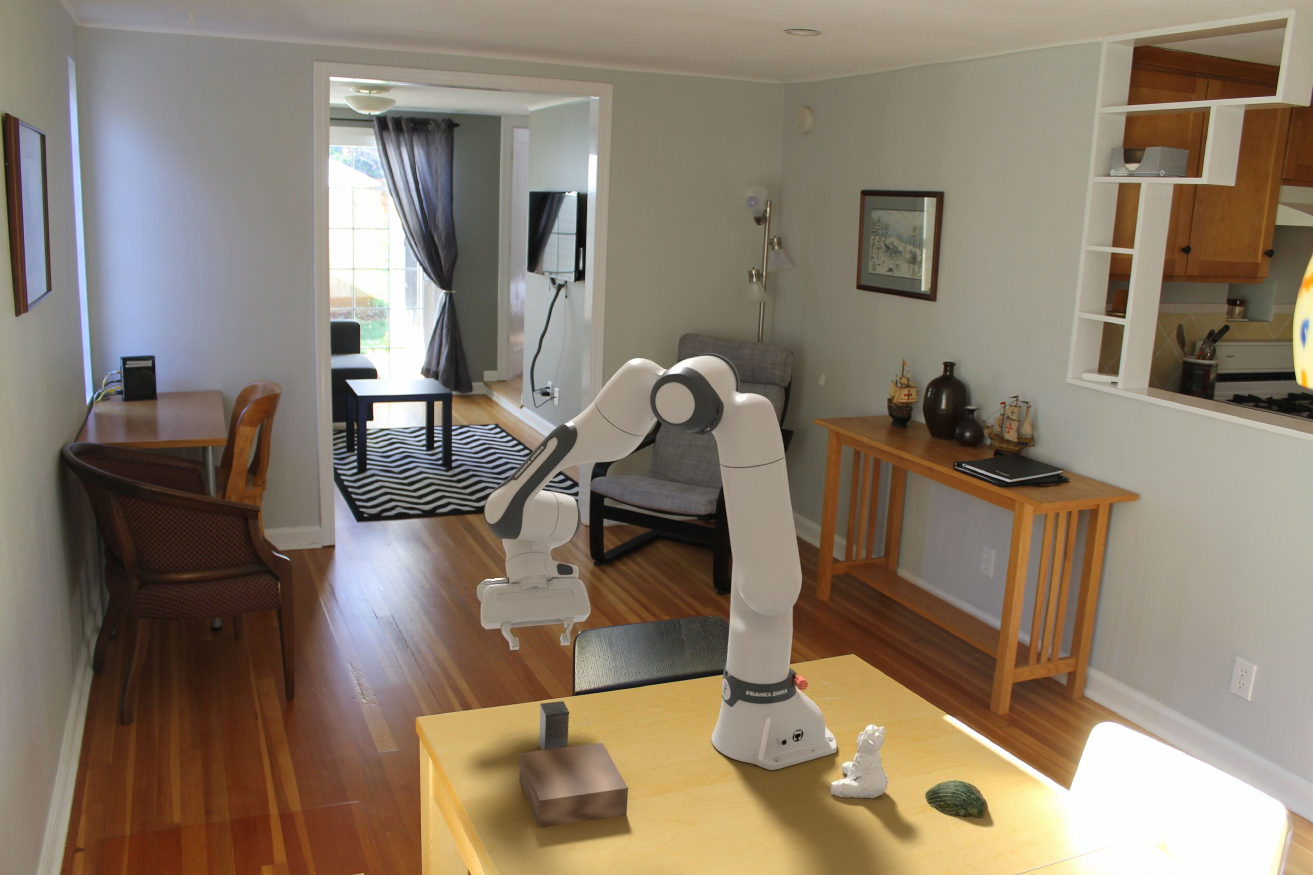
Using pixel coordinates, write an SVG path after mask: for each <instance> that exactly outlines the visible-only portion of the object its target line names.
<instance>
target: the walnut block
mask: <svg viewBox="0 0 1313 875" xmlns="http://www.w3.org/2000/svg"><path fill="white" fill-rule="evenodd" d="M518 779H519V781H520V783H521V787H522V789H523V791H524V794H525V797H526V799H527V801H528V804H529V806H530V809H531V811H532V814H533V816H534V820H535V821H536V824H537V827H538V828H539V829H541V828H542V829H543V828H547V827H554V826H562V825H567V824H574V823H579V822H580V823H582V822H586V821H592V820H599V819H600V820H601V819H606V818H607V819H608V818H613V817H618V816H626V815H627V812H628V796H629V787H628V786H627V784H626V782H625V780H624V778H623V776H622V774H621V773H620V771H619V769H618V768H617V766H616V764H615V762H614V761H613V758H612V757H611V756H610V754H609V752H608V750H607V748H606V747H605V745H604V743H603V742H599V743H590V744H582V745H581V744H580V745H573V746H567V747H565V748H557V749H549V750H541V749H540V750H534V751H528V752H520V753H519V778H518Z"/></svg>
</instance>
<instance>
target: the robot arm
mask: <svg viewBox="0 0 1313 875" xmlns="http://www.w3.org/2000/svg"><path fill="white" fill-rule="evenodd" d="M740 381H741V380H740V374H739V370H738V369H737V367H736V366H735V364H734V363H733V362H732V361H731V360H730V359H729V358H727V357H726V356H723V355H722V354H718V353H711V352H710V353H709V352H708V353H701V354H697V355H695V356H692V357H690V358H686V359H684V360H681V361H680V362H677V363H676V364H674V365H673V366H672V367H670V368H667V369H666V368H664V367H662V366H661V365H659V363H658V364H657V363H656V362H654V361H653V360H651V359H646V358H643V357H641V358H640V357H638V358H633V359H632V358H631V359H629V360H628V361H627V362H626V363H624V364H623V365H622V366H621V367H620V368H619V369H618V370H617V371H616V372H615V373H614V374H613V375H612V377H610V379H609V380H608V381H606V383H605V384H604V385H603V387H602V388H601V389H600V391H599V393H598V394H597V395H596V397H595V398H594V399H593V401H592V402H591V403H590V404H589V405H588V406H587V407H586V408H585V409H584V410H583V411H582V412H581V413H579V414H578V415H577V416H575V417H574V418H572V419H570V420H568V421H567V422H563V423H562V424H560V425H558V426H557V427H555V428H554V429H553V430H552V431H550V433H549V434H548V435H547V436H546V437H545V438H544V439H543V440H542V441H541V442H540V443H539V444H538V446H536V448H535V449H534V450H533V451H532V452H531V453H530V454H529V455H528V456H527V458H526V459H525V460H524V461H522V463H521V464H520V465H519V466H518V467H517V469H515V471H514V472H513V473H512V474H511V475H510V476H508V478H506V479H505V480H504V481H503V482H501V483H500V484H499V485H497V486H496V487H495V488H494V489H493V490H492V491H490V492H491V493H489V495H488V496H487V498H486V500H485V503H484V507H483V518H484V521H485V524H486V525H487V527H488V529H489V530H490V531H491V533H492V534H493V535H494V536H495V537H496V538H498V539H500V540H502V546H503V548H504V551H505V556H506V557H505V564H504V565H505V572H506V577H500V578H494V579H492V578H487V579H483V581H482V582H480V583H478V585H477V587H476V597H477V599H478V601H479V602H480V625H481V626H482V627H483V628H484V629H485V630H494V629H495V630H496V629H501V634H502V636H503V637H504V638H505V639H506V640H507V642H508V643H509V650H510V651H515V650H517V651H518V650H520V640H519V639H520V638H519V637H515V636H514V635H513V634H512V632H511V630H512V629H511V628H518V627H519V628H520V627H531V626H543V625H554V624H555V625H557V624H563V627H564V628H565V629H566V631H565V633H561V635H560V636H559V640H560V646H570V644H571V634H570V633H571V631H572V629H573V627H574V625H575V624H574V623H580V622H581V623H582V622H586V620H587V619H588V617H589V616H590V614H591V611H592V608H591V603H590V599H589V594H588V591H587V588H586V586H585V584H584V582H583V581H582V580H581V579H579V575H580V574H579V573H580V571H579V570H580V569H579V567H578V566H577V565H574V564H570V563H565V562H561V561H558V560H554V559H553V558H552V554H551V551H552V550H553V549H554V548H560V547H562V546H564V545H565V544H567V543H569V542H570V541H572V540H574V538H575V537H576V536H577V534H579V531H580V529H581V525H582V514H581V509H580V505H579V503H578V502H577V500H576V498H574V497H573V496H571V495H568V494H566V493H561V492H555V491H549V490H543V489H544V488H545V487H546V486H547V484H548V483H549V482H550V481H551V480H552V479H553V478H554V477H555V476H556V475H557V474H559V472H561V471H563V470H565V469H567V468H569V467H572V466H573V467H574V466H578V465H582V464H590V463H592V464H593V463H605V462H606V463H608V462H615V461H619V460H622V459H624V458H626V457H627V456H629V455H630V454H631V453H632V452H634V451H635V450H636V449H637V448H638V447H639V445H640V444H642V442H643V441H644V439H645V437H646V436H647V434H648V433H649V432H650V430H651V429H652V427H653V426H654V425H655V423H656V422H657V421H658V422H660V423H661V425H663V426H665V427H667V428H669V429H671V430H675V431H680V432H687V433H688V432H689V433H693V434H696V435H700V436H707V435H709V434H710V433H712V435H713V437H714V438H715V441H716V444H717V450H718V451H717V452H718V457H719V458H718V460H719V466H720V474H721V481H722V490H723V495H724V496H723V497H724V502H725V511H726V518H727V525H728V532H729V541H730V547H731V548H730V549H731V557H732V565H731V566H732V570H731V583H730V584H731V586H730V587H731V589H730V608H729V627H728V628H729V629H728V631H729V632H728V641H727V642H728V644H727V656H726V663H725V665H724V666H723V675H722V682H721V698H722V700H721V705H720V710H719V714H718V718H717V721H716V724H715V728H714V729H713V732H712V734H711V743H712V745H713V746H714V747H715V749H716V750H717V751H719V752H720V753H721V754H723V755H725V756H726V757H729V758H731V759H733V760H736V761H739V762H743V763H747V764H753V765H757V766H758V767H761V768H763V769H766V770H770V771H775V770H779V769H783V768H787V767H789V766H793V765H797V764H801V763H805V762H808V761H811V760H815V759H818V758H822V757H825V756H830V755H832V754H835V753H837V751H838V750H837V749H838V747H837V746H838V744H837V740H836V738H835V736H834V735H833V733H832V731H831V730H829V728H828V727H827V726H826V722H825V718H824V715H823V712H822V711H821V709H820V707H819V706H818V705H817V704H816V703H815V701H813V700H812V699H811V698H810V697H809V696H807V695H806V694H805V693H803V691H804V690H806V689H807V688H808V687H809V681H808V680H807V679H806V678H804V676H803V675H798V673H797V672H796V671H795V669H793V668H791V667H790V665H791V664H790V663H791V654H792V645H793V644H792V642H793V633H794V632H793V630H794V627H793V622H794V621H793V620H794V619H793V616H794V615H793V614H794V613H793V612H794V611H793V610H794V608H793V607H794V605H795V604H796V602H797V600H798V598H799V597H800V596H799V595H800V593H801V589H802V582H803V575H802V567H801V566H802V565H801V560H800V553H799V546H798V540H797V533H796V527H795V526H796V525H795V519H794V515H793V514H794V513H793V507H792V501H791V500H792V499H791V495H790V494H791V492H790V486H789V478H788V477H789V476H788V470H787V461H786V454H785V448H784V447H785V446H784V441H783V436H782V431H781V428H780V424H779V420H778V418H777V414H776V411H775V408H774V405H773V404H772V401H770V400H769V399H768V398H767V397H765V396H764V395H761V394H757V393H750V392H745V393H743V392H739V390H740V386H741V384H740V383H741V382H740Z"/></svg>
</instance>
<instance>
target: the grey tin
mask: <svg viewBox="0 0 1313 875" xmlns="http://www.w3.org/2000/svg"><path fill="white" fill-rule="evenodd" d="M539 706H540V707H539V708H540V710H539V711H540V713H539V714H540V715H539V718H540V719H539V741H538V742H539V743H538V744H539V746H538V747H539V749H540V748H541V749H540V751H541V750H549V749H557V748H565V747H568V743H569V742H568V741H569V740H568V739H569V721H570V720H569V718H570V717H569V715H570V711H569V709H568V707H567V705H566V703H565V702H564V700H561V701H553V702H543V703H541V702H540V704H539Z"/></svg>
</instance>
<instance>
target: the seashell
mask: <svg viewBox="0 0 1313 875" xmlns="http://www.w3.org/2000/svg"><path fill="white" fill-rule="evenodd" d="M924 796H925V800H926V803H927V804H928V805H929V806H930V807H932V808H933V809H935V810H936V811H938V812H939V813H942V814H945V815H946V816H950V817H951V816H952V817H959V818H966V817H968V818H969V817H970V818H971V817H972V818H973V817H974V818H978V819H981V818H983V817H984V816H985V812H986V810H987V808H988V806H987V805H988V804H987V803H988V802H987V800H986V799H985V797H984V796H983V794H982V792H981V790H980V789H979V788H977V786H975V785H973V784H971V783H970V782H967V781H964V780H946V781H944V782H939V783H938V784H935V785H934V786H933V787H931V788H929V789H928V790H927V791H926V792H925V795H924Z"/></svg>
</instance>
